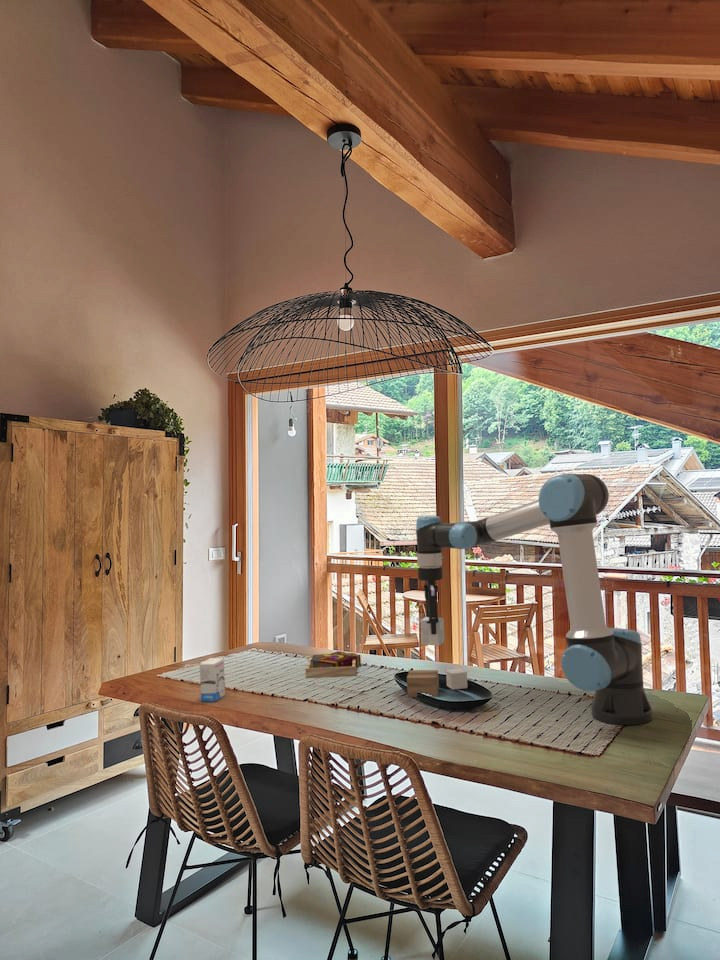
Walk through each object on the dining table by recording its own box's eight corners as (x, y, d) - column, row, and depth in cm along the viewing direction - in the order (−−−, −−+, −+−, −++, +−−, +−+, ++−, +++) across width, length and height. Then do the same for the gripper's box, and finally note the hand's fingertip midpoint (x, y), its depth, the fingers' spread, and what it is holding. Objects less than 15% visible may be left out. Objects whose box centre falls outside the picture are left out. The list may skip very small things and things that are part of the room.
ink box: (215, 702, 213) (213, 663, 214) (200, 702, 214) (198, 663, 215) (226, 694, 222) (224, 657, 222) (211, 694, 223) (210, 657, 223)
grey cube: (467, 688, 217) (466, 672, 217) (452, 689, 215) (451, 673, 216) (461, 684, 221) (460, 668, 222) (446, 685, 220) (446, 670, 220)
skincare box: (425, 640, 215) (424, 616, 215) (444, 641, 213) (444, 617, 213) (421, 644, 209) (420, 620, 210) (440, 645, 207) (439, 620, 208)
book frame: (355, 675, 238) (354, 666, 238) (306, 677, 238) (305, 669, 238) (356, 660, 260) (355, 652, 260) (311, 662, 260) (310, 654, 260)
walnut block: (437, 697, 208) (436, 677, 209) (407, 697, 210) (406, 677, 210) (439, 689, 217) (438, 670, 217) (410, 689, 219) (409, 670, 219)
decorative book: (361, 666, 252) (361, 653, 252) (332, 676, 239) (332, 662, 239) (338, 663, 259) (337, 649, 259) (308, 672, 246) (308, 658, 246)
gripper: (445, 570, 202) (448, 648, 201) (438, 562, 222) (441, 634, 221) (420, 570, 202) (422, 649, 201) (415, 563, 222) (418, 635, 222)
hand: (432, 641), depth 211 cm, fingers closed on skincare box, 7 cm apart
